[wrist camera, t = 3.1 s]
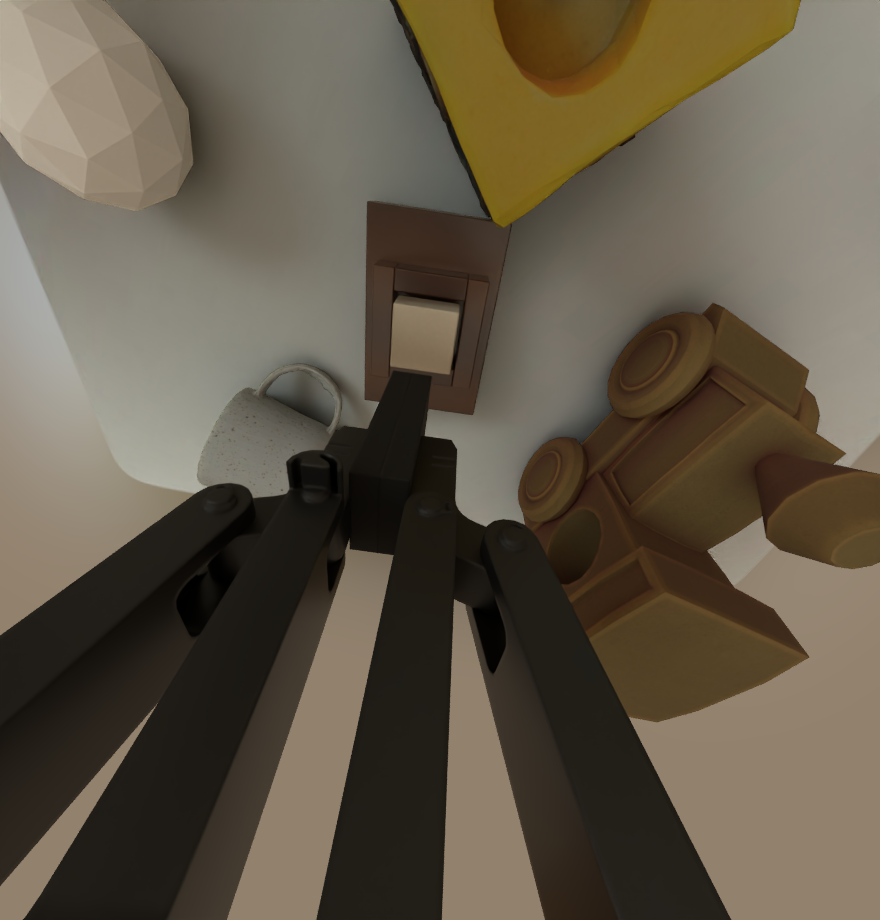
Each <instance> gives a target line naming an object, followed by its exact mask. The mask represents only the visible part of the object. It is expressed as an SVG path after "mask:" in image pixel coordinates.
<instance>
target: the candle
mask: <svg viewBox="0 0 880 920" xmlns="http://www.w3.org/2000/svg"><path fill="white" fill-rule="evenodd" d="M390 1H391V3H392V5H393V6H394V10H395V13H396V16H397V18H398V21H399V23H400V24H401V25H402V26H403V29H404V33H405V35H406V38H407V39H408V42H409V44H410V48H411V51H412V53H413V55H414V57H415V60H416V62H417V63H418V65H419V67H420V68H421V71H422V76H423V77H424V79H425V81H426V84H427V86H428V88H429V90H430V92H431V95H432V97H433V99H434V103H435V104H436V106H437V107H438V108H439V110H440V114H441V117H442V119H443V121H444V122H445V123H446V126H447V129H448V132H449V135H450V137H451V140H452V142H453V145H454V147H455V150H456V152H457V154H458V156H459V158H460V161H461V163H462V165H463V166H464V168H465V169H466V171H467V173H468V175H469V178H470V180H471V183H472V186H473V188H474V189H475V191H476V194H477V196H478V199H479V201H480V206H481V208H482V209H483V211H484V212H485V215H487V216H488V217H491V221H492V222H493V223H495V224H496V226H497V227H502V228H504V227H506V226H507V225H509V224H511V223H512V222H514V221H515V220H517V219H518V218H520V217H522V216H523V215H525V214H526V213H528V212H529V211H530V210H532V209H533V208H534V207H536V206H537V205H538V204H539V203H541V202H542V201H543V200H545V199H546V198H547V197H549V196H550V195H551V194H552V193H554V192H555V191H556V190H557V189H558V188H560V187H561V186H562V185H563V184H564V183H565V182H567V181H568V180H569V179H570V178H572V176H573V175H575V174H577V173H579V172H581V171H582V170H584V169H586V168H588V167H589V166H591V165H593V164H595V163H597V162H598V161H599V160H600V159H601V158H603V157H604V156H605V155H606V154H608V153H609V152H611V151H612V150H613V149H615V148H616V147H618V146H623V145H624V144H626V143H627V142H629V141H630V140H632V139H633V138H635V134H636V133H638V132H639V131H641V130H642V129H644V128H645V127H646V126H648V125H649V124H651V123H652V122H654V121H655V120H656V119H658V118H659V117H661V116H662V115H664V114H665V113H667V112H668V111H669V110H671V109H672V108H674V107H675V106H677V105H678V104H679V103H681V102H682V101H684V100H685V99H687V98H689V97H691V96H692V95H694V94H696V93H697V92H699V91H701V90H703V89H704V88H706V87H708V86H709V85H711V84H713V83H714V82H716V81H718V80H720V79H721V78H723V77H724V76H726V75H727V74H729V73H731V72H732V71H734V70H735V69H737V68H738V67H740V66H742V65H743V64H745V63H746V62H748V61H749V60H751V59H752V58H754V57H756V56H757V55H759V54H760V53H762V52H763V51H765V50H767V49H768V48H769V47H771V46H772V45H773V44H775V43H776V42H777V41H779V40H780V39H781V38H783V37H784V36H785V35H787V34H788V33H789V32H791V31H792V30H793V29H794V25H795V21H796V17H797V13H798V9H799V6H800V2H801V0H390Z"/></svg>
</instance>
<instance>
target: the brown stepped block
mask: <svg viewBox="0 0 880 920" xmlns="http://www.w3.org/2000/svg"><path fill="white" fill-rule="evenodd" d="M511 227H512V224H509V225H507V226H506V227H504V228H502V227H497V226H496V224H495V223H493V222H492V221H491V219H488V218H482V217H476V216H469V215H463V214H456V213H450V212H444V211H437V210H431V209H425V208H418V207H412V206H405V205H399V204H393V203H386V202H380V201H368V202H367V252H366V331H365V400H370V401H377V402H380V400H381V397H382V395H383V393H384V390H385V388H386V386H387V384H388V381H389V379H390V377H391V374H392V372H393V370H395V371H401V372H408V373H415V374H422V375H429V376H432V380H431V388H430V396H429V404H428V409H434V410H441V411H448V412H455V413H462V414H469V415H473V413H474V408H475V403H476V398H477V393H478V388H479V383H480V379H481V374H482V369H483V364H484V359H485V354H486V349H487V344H488V339H489V334H490V330H491V325H492V320H493V315H494V310H495V305H496V300H497V295H498V290H499V285H500V281H501V276H502V271H503V266H504V261H505V256H506V251H507V246H508V241H509V236H510V231H511ZM399 295H401V296H408V297H415V298H421V299H428V300H435V301H441V302H448V303H455V304H459V305H460V313H459V320H458V327H457V334H456V340H455V347H454V353H453V360H452V366H451V373H450V375H447V374H440V373H433V372H426V371H419V370H412V369H405V368H398V367H391V366H390V356H391V338H392V319H393V304H394V302H395V301H396V299H397V298H398V296H399Z"/></svg>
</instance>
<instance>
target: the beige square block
mask: <svg viewBox="0 0 880 920" xmlns="http://www.w3.org/2000/svg"><path fill="white" fill-rule="evenodd" d="M459 313H460V305H459V304H455V303H448V302H441V301H435V300H428V299H421V298H415V297H408V296H401V295H399V296H398V298H397V299H396V301H395V302H394V304H393V319H392V338H391V356H390V366H391V367H398V368H405V369H412V370H419V371H426V372H433V373H440V374H447V375H450V373H451V366H452V360H453V353H454V347H455V340H456V334H457V327H458V320H459Z"/></svg>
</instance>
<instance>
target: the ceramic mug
mask: <svg viewBox="0 0 880 920" xmlns="http://www.w3.org/2000/svg"><path fill="white" fill-rule="evenodd" d="M297 370H301V371H303V372H305V373H307V374H309V375H311V376H312V377H314V378H315V379H317V380H318V381H320V382H321V383H322V385H323V387H324V389H327V390H329V391H330V393H331V395H332V396H333V397H334V400H335V409H336V410H335V414H334V418H333V421H332V423H331V425H330V426H329V427H327V426H326V425H324V424H322V423H319V422H317V421H316V420H314V419H311V418H308V417H306V416H304V415H302V414H300V413H298V412H297V411H295V410H293V409H291V408H289V407H288V406H286V405H284V404H282V403H280V402H278V401H277V400H275V399H273V398H271V397H268V396H267V395H266V391H267V389H268V388H269V386H270V385H271V384H272V383H273V382H274V381H275V380H276V379H277V378H278V377H279V376H280V375H282V374H285V373H288V372H293V371H297ZM341 410H342V398H341V393H340V391H339V389H338V387H337V385H336V384H335V383H334V381H333V380H332V379H331V377H329V376H328V375H327V374H326V373H324V372H323V371H321V370H320V369H318V368H315V367H313V366H310V365H306V364H291V365H287V366H283V367H281V368H279V369H277V370H275V371H274V372H272V373H271V374H270V375H269V376H268V377H267V378H266V379H265V380H264V381H263V382H262V384H261V385H260V386H259V388H258V389H257V390H254V389H252V388H245V389H243V390H242V391H240V392H239V393H237V394H236V395H235V396H234V397H233V399H232V400H231V401H230V402H229V403H228V404H227V406H226V407H225V409H224V411H223V412H222V414H221V415H220V417H219V419H218V420H217V422H216V424H215V425H214V427H213V429H212V431H211V433H210V436H209V438H208V440H207V441H206V444H205V446H204V449H203V451H202V455H201V457H200V461H199V464H198V473H197V478H198V481H199V482H200V483H201V484H203V485H206V486H209V487H210V486H213V485H216V484H223V483H234V484H240V485H243V486H245V487H246V488H248V489H249V490H250V492H251V494H252V496H253V498H258V497H270V496H278V495H283V494H286V493H287V492H288V490H289V481H288V474H287V466H286V461H287V460H288V459H289V458H290V457H292V456H293V455H295V454H298V453H300V452H303V451H308V450H324V449H325V447H326V445H327V444H328V442H329V440H330V438H331V437H332V435H333V433H334V432H335V428H336V426H337V424H338V422H339V419H340V415H341Z"/></svg>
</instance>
